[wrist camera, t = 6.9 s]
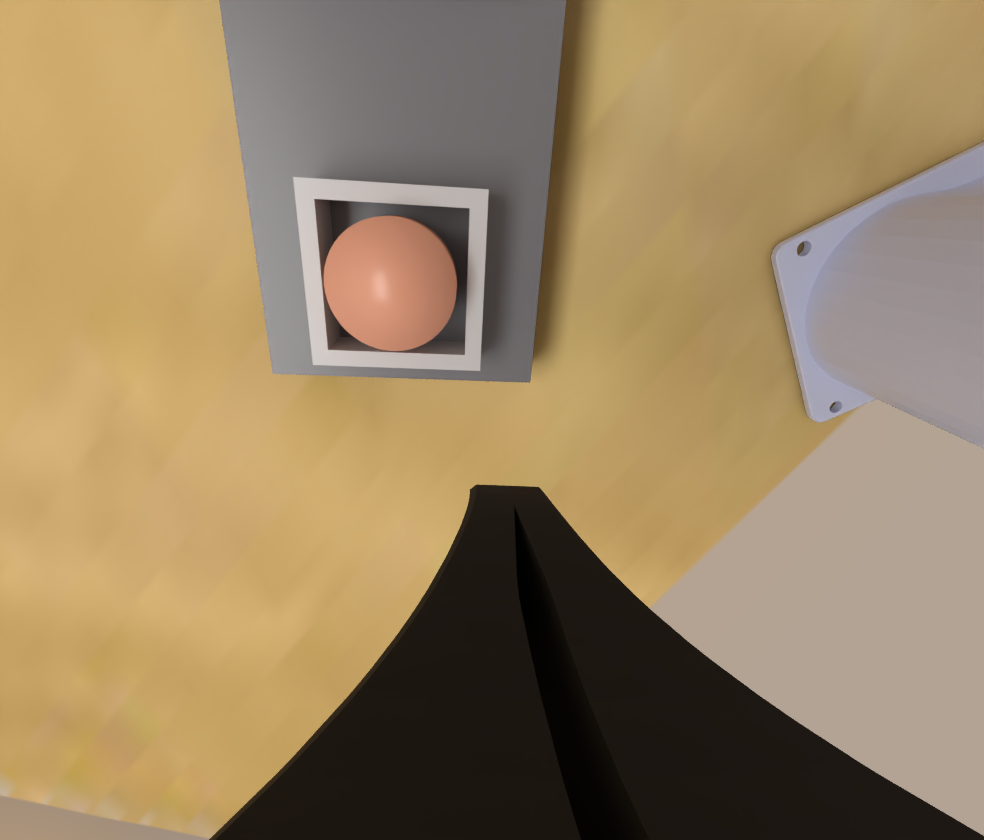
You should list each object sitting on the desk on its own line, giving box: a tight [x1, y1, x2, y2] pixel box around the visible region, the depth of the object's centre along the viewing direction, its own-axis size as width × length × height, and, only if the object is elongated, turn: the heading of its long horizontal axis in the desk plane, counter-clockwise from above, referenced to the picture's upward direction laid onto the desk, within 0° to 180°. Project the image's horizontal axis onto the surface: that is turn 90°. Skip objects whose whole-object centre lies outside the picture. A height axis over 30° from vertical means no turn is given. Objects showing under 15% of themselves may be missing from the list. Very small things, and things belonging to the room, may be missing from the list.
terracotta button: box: [324, 215, 457, 351], centre depth 14 cm, size 4×4×2 cm
